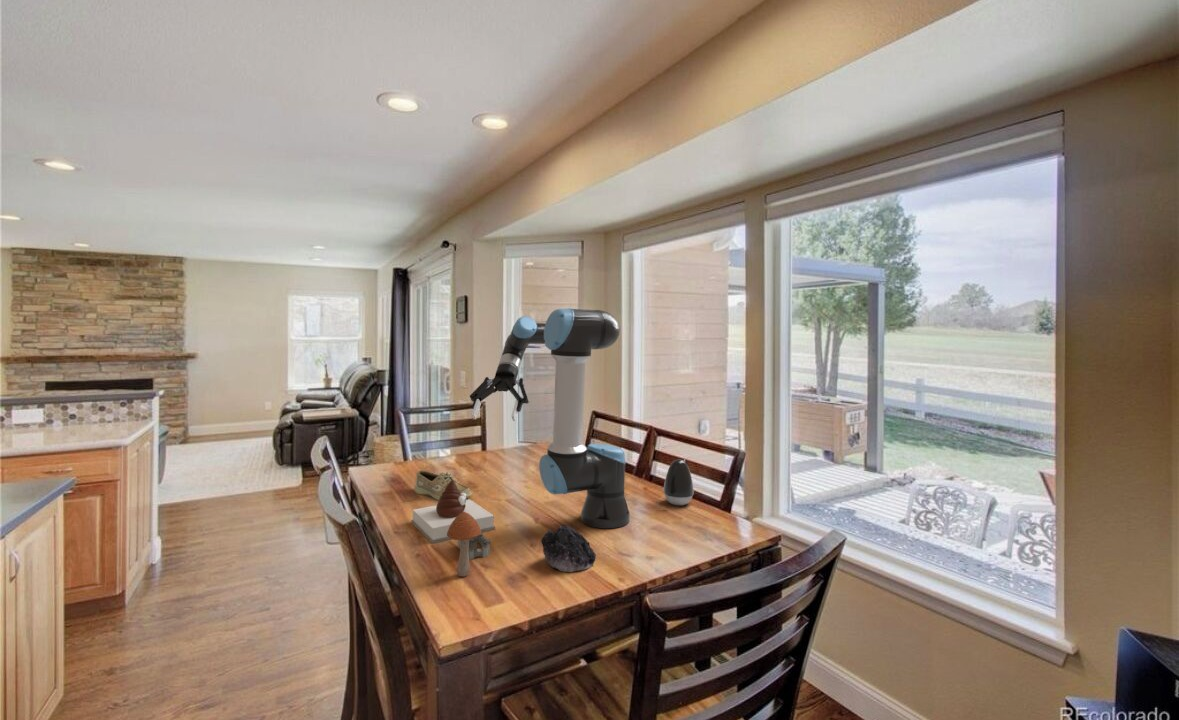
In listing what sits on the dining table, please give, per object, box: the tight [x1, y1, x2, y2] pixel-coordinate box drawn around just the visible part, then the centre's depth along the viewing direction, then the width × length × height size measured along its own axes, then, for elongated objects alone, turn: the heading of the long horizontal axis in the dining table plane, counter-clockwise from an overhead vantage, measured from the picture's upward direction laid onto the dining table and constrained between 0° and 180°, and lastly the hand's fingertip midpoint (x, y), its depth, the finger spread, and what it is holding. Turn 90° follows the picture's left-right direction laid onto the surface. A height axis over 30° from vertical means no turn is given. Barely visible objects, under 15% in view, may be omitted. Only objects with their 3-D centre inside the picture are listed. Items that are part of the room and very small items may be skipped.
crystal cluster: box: [540, 525, 597, 573], centre depth 129 cm, size 13×14×10 cm
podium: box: [411, 498, 496, 544], centre depth 152 cm, size 19×19×4 cm
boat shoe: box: [414, 469, 473, 501], centre depth 180 cm, size 25×9×8 cm, turn 59°
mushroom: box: [447, 512, 482, 578], centre depth 121 cm, size 8×8×15 cm
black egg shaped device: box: [663, 458, 694, 506], centre depth 176 cm, size 10×10×15 cm
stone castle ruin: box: [457, 532, 491, 561], centre depth 135 cm, size 11×8×4 cm
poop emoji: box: [436, 481, 468, 518], centre depth 151 cm, size 10×8×9 cm
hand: (493, 417), depth 168 cm, fingers open, 13 cm apart
